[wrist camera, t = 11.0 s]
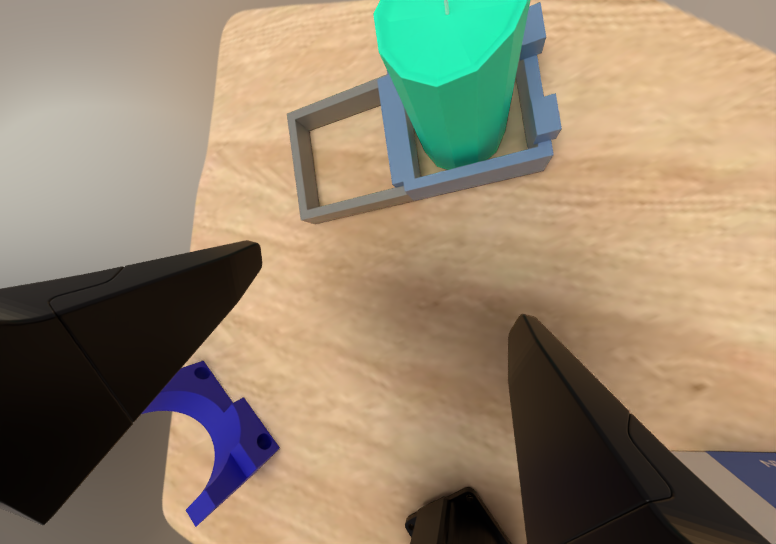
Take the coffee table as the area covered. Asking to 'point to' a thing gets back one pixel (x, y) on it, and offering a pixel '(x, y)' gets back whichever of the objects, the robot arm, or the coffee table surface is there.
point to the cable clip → (218, 433)
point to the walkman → (740, 483)
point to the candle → (453, 70)
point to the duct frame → (402, 146)
